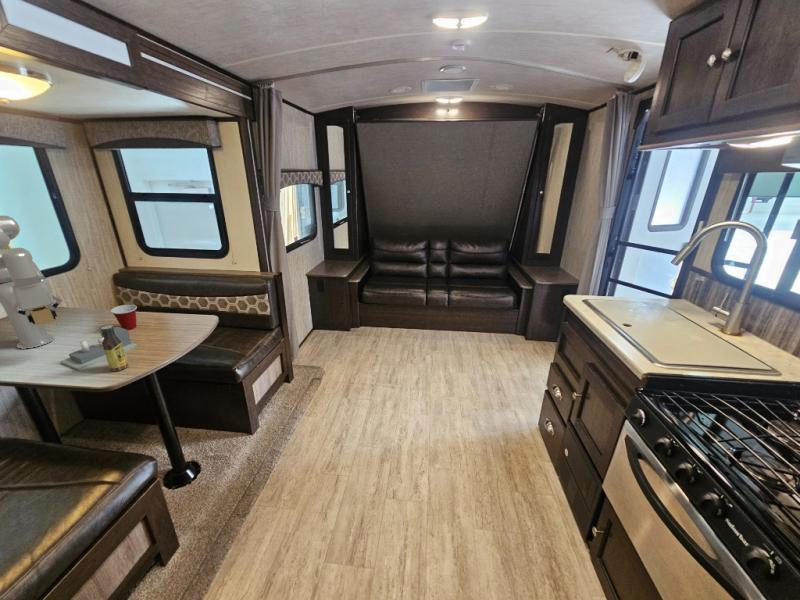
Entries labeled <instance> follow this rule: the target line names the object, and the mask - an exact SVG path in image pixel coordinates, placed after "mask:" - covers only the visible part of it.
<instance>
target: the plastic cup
mask: <svg viewBox="0 0 800 600" xmlns="http://www.w3.org/2000/svg"><path fill="white" fill-rule="evenodd" d="M137 308H138V306H137V305H135V304H123V305H117V306H114V307H113V308H112V309H110V313H112V314H113V315H114V317H115V318H116V321H117V322H118V325H120V326H121V327H120V328H123V329H126V330H127V331H131V330H135V329H136V328H137V326H138V325H137V313H136V312H137Z"/></svg>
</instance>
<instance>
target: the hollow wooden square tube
mask: <svg viewBox="0 0 800 600" xmlns="http://www.w3.org/2000/svg"><path fill="white" fill-rule="evenodd" d="M30 314H31V315H32V317H33V320H34V322H35V324H36V326H37V325H42V324H48V323H49V324H50V323H54V322H56V321H55V320H56V319H54V318H53V315H52V313H51V311H50V308H49V307H48V306H47V305H46V306H42V307H37V308H33V309H30Z"/></svg>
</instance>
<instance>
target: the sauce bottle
mask: <svg viewBox="0 0 800 600" xmlns="http://www.w3.org/2000/svg"><path fill="white" fill-rule="evenodd" d="M100 332H102V333H103V337H104V340H103V342H102V343H101V345H103V348H104V352H105V355H106V358H107V359H106V361H107V364H108V366H109V368H110V370H111V371H112V372H119V371H124V370H125V369H127V368H128V367H129V361H128V357H127V354H126V351H124V348H123V345H122V342H121V341H120V339H119V338H118V337H117V336H116V334H115V332H114V326H113V325H104V326H102V327H100Z"/></svg>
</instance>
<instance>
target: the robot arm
mask: <svg viewBox="0 0 800 600" xmlns="http://www.w3.org/2000/svg"><path fill="white" fill-rule="evenodd" d="M20 231H21V228H20V225H19V222H17V221H16V219H14V218H13V217H11V216H10V215H9V216H8V215H0V304H1V306H2V307H3V309H4V311H5V313H6V315H7V317H8V319H9V321H10V324H11V326H12V328H13V330H14V332H15V334H16V336H17V339H18V340H19V342H18V343H17V344H16V347H18V348H17V349H19V348H21V349H20V350H27V349H26V348H31V349H34V348H33V347H36V348H38V347H37V346H40V347H42V346H41V345H43V344H46V343H48V344H50V343H52V342H53V341H54V340H55V336H54V335H51V334H48V332H47V329H46V327H45V325H44V324H42V325H37V326H36V324H35V322H34V320H33V317H32V315H31V314H30V309H33V308H37V307H42V306H48V307H49V308H50V311H51V313H52V315H53V318H54V320H57V318H56V317H58V314H57V312H56V309H57V307H58V306H59V305H60V304H61V303H62V302H63V299H62V298H59V297H58V296H55V295H52V293H51V292H52V289H51V286H50V283H48V281H47V279H46V277H45V275H44V274H43V273H42V272H41V270H40V268H39V267H38V265H37V264H36V262H35V261H34V260H33V255H32V253H31V251H29V250H27V249H26V248H23V247H13V248H7V247H8V246H9V244H10V243H11V240H14V239H16V238H17V236H18V235H19V234H20ZM51 341H52V342H51ZM49 342H50V343H49ZM46 345H47V344H46ZM43 346H44V345H43Z"/></svg>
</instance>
